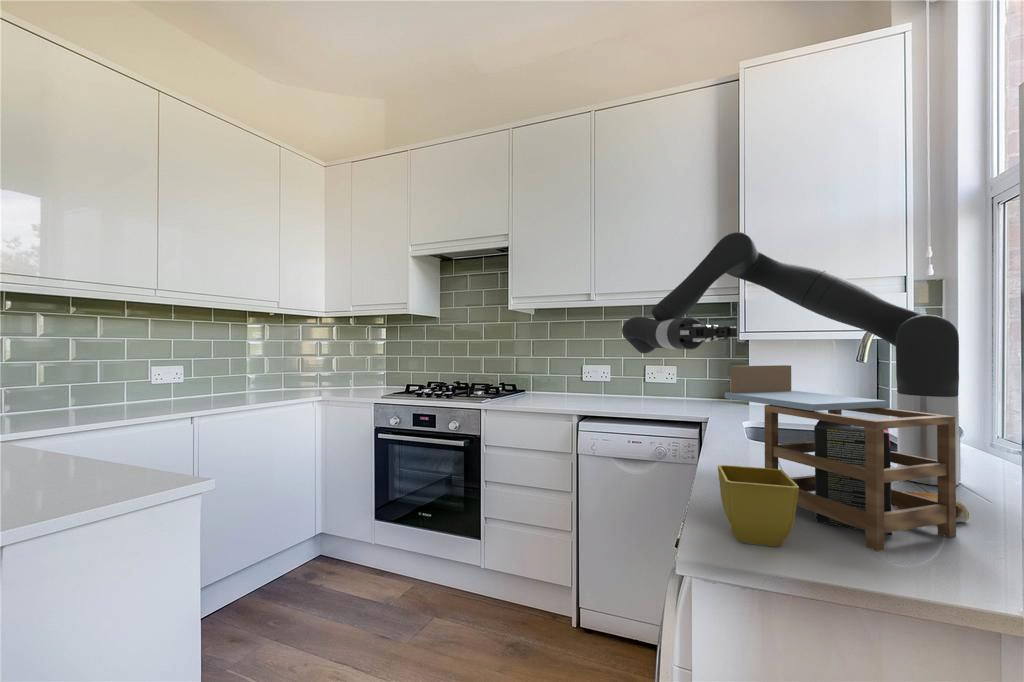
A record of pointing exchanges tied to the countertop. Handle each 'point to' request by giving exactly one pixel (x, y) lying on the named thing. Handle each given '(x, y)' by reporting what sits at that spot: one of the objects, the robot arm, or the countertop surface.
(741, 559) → the countertop surface
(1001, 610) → the countertop surface
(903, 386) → the robot arm
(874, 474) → the crate
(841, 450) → the tampon box
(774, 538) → the flower pot
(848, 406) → the lid
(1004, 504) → the countertop surface
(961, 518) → the pastry
